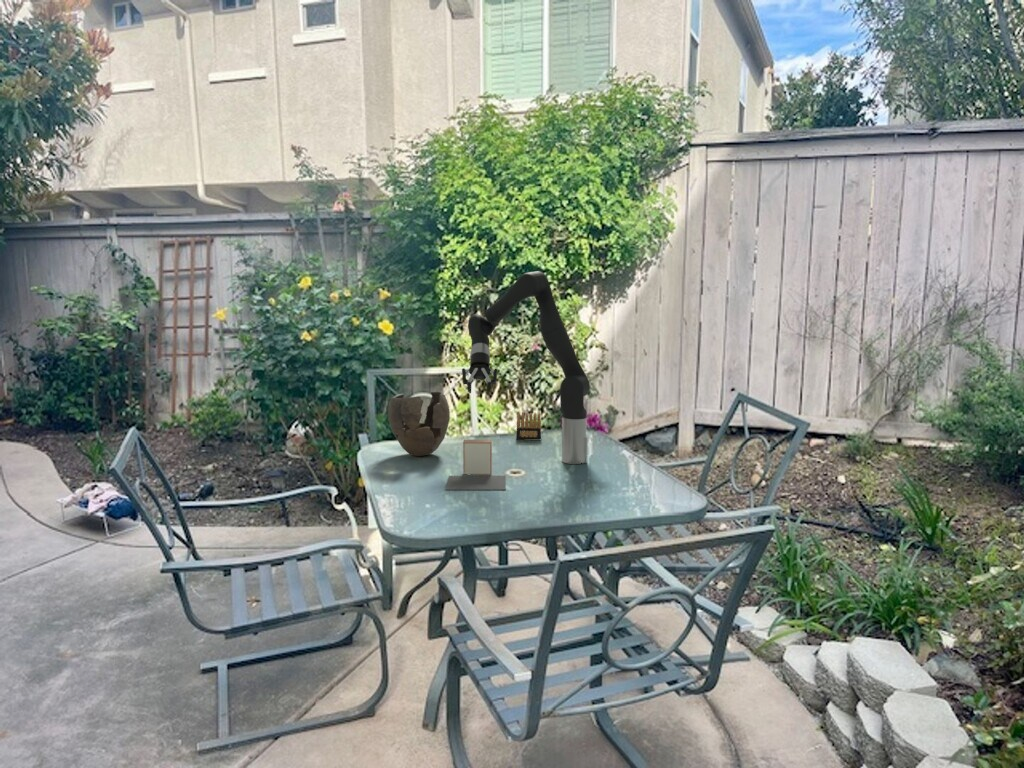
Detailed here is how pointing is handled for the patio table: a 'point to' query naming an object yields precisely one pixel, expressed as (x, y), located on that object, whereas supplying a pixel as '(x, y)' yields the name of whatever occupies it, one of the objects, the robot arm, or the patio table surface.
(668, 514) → the patio table surface
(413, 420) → the clay pot
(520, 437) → the ammunition clip
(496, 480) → the charcoal mat
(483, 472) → the peach block
